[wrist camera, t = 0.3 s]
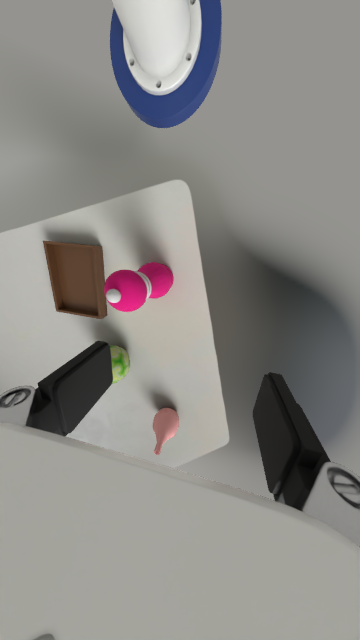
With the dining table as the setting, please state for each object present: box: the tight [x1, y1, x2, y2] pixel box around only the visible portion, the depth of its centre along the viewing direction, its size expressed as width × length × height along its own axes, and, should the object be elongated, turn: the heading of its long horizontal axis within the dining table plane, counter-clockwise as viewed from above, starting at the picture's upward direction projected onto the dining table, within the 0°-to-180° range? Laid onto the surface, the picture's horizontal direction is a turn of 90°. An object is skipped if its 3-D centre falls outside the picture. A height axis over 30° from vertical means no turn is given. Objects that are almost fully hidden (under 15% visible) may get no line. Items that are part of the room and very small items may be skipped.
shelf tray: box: [43, 241, 107, 319], centre depth 42 cm, size 17×13×3 cm
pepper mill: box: [104, 262, 173, 312], centre depth 30 cm, size 7×7×20 cm
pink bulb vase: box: [153, 408, 179, 455], centre depth 48 cm, size 8×8×12 cm
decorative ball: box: [110, 346, 130, 384], centre depth 45 cm, size 10×10×10 cm
